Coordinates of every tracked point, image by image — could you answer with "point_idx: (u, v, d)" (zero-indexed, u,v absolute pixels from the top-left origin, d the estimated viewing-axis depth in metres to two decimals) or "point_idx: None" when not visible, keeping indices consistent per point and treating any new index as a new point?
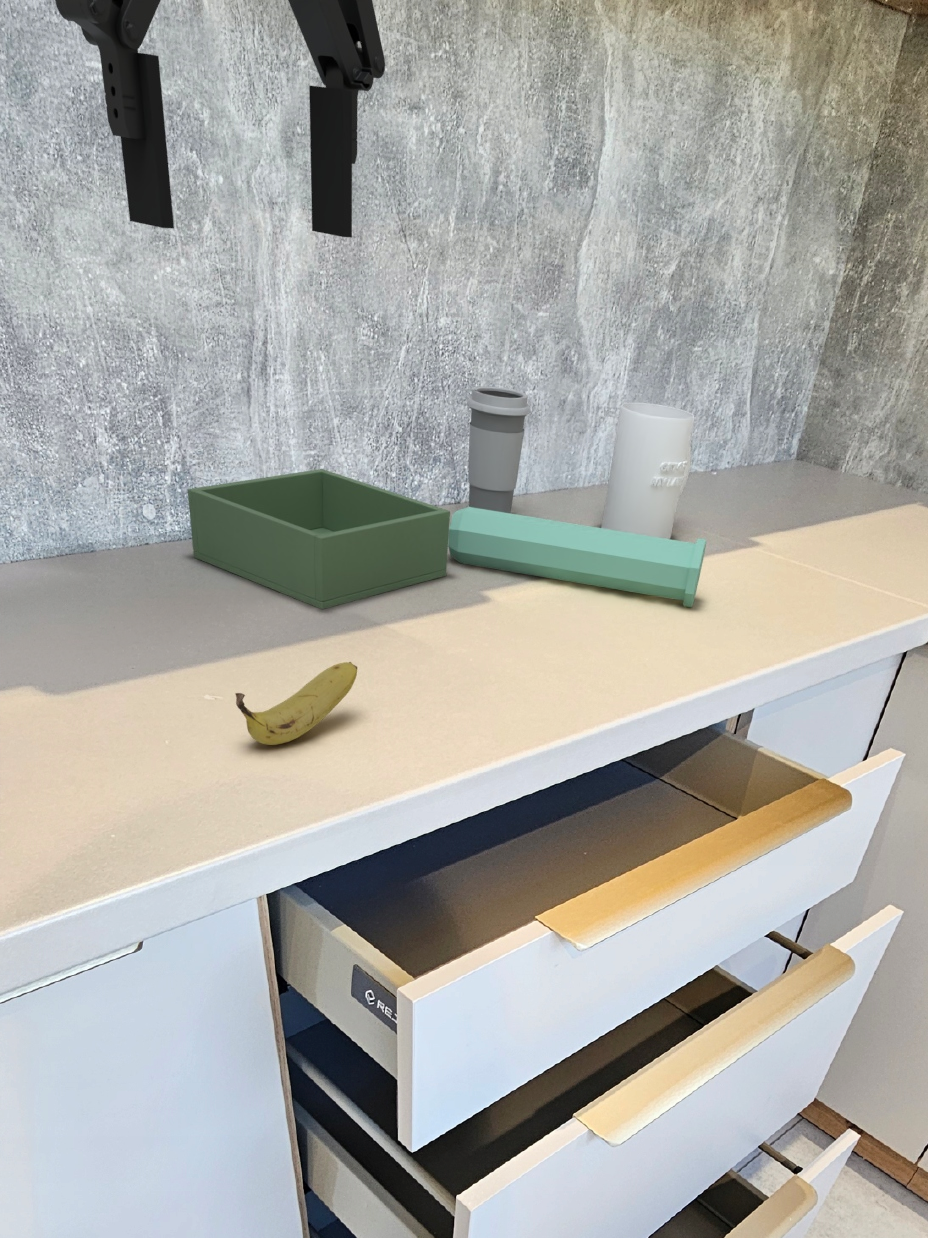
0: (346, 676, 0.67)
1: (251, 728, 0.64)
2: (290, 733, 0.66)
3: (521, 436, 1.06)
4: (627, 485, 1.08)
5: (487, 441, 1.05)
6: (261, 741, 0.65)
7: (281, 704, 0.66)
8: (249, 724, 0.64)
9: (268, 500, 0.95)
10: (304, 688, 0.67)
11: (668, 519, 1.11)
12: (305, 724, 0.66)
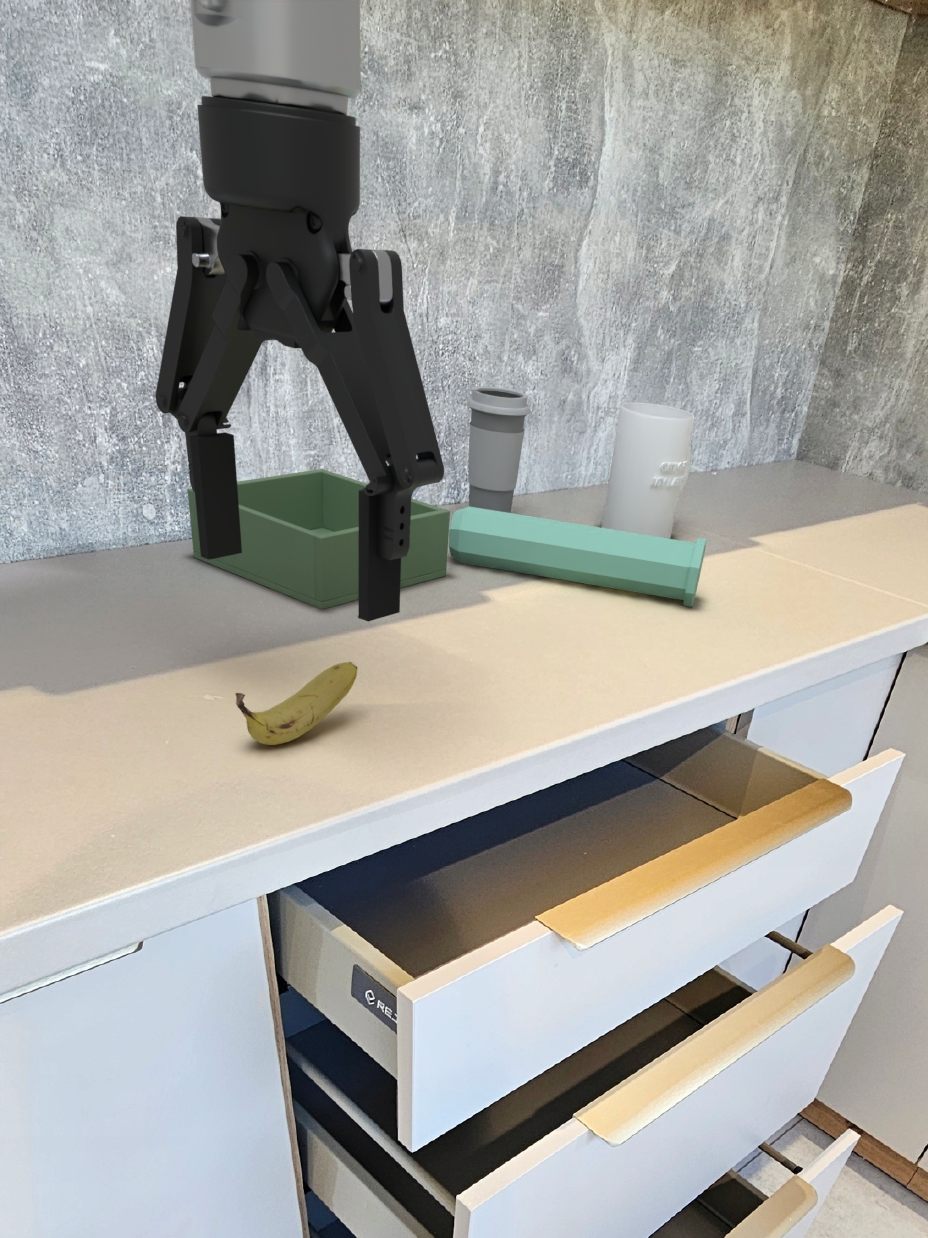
0: (346, 676, 0.67)
1: (251, 728, 0.64)
2: (290, 733, 0.66)
3: (521, 436, 1.06)
4: (627, 485, 1.08)
5: (487, 441, 1.05)
6: (261, 741, 0.65)
7: (281, 704, 0.66)
8: (248, 724, 0.64)
9: (268, 500, 0.95)
10: (304, 688, 0.67)
11: (668, 519, 1.11)
12: (305, 724, 0.66)
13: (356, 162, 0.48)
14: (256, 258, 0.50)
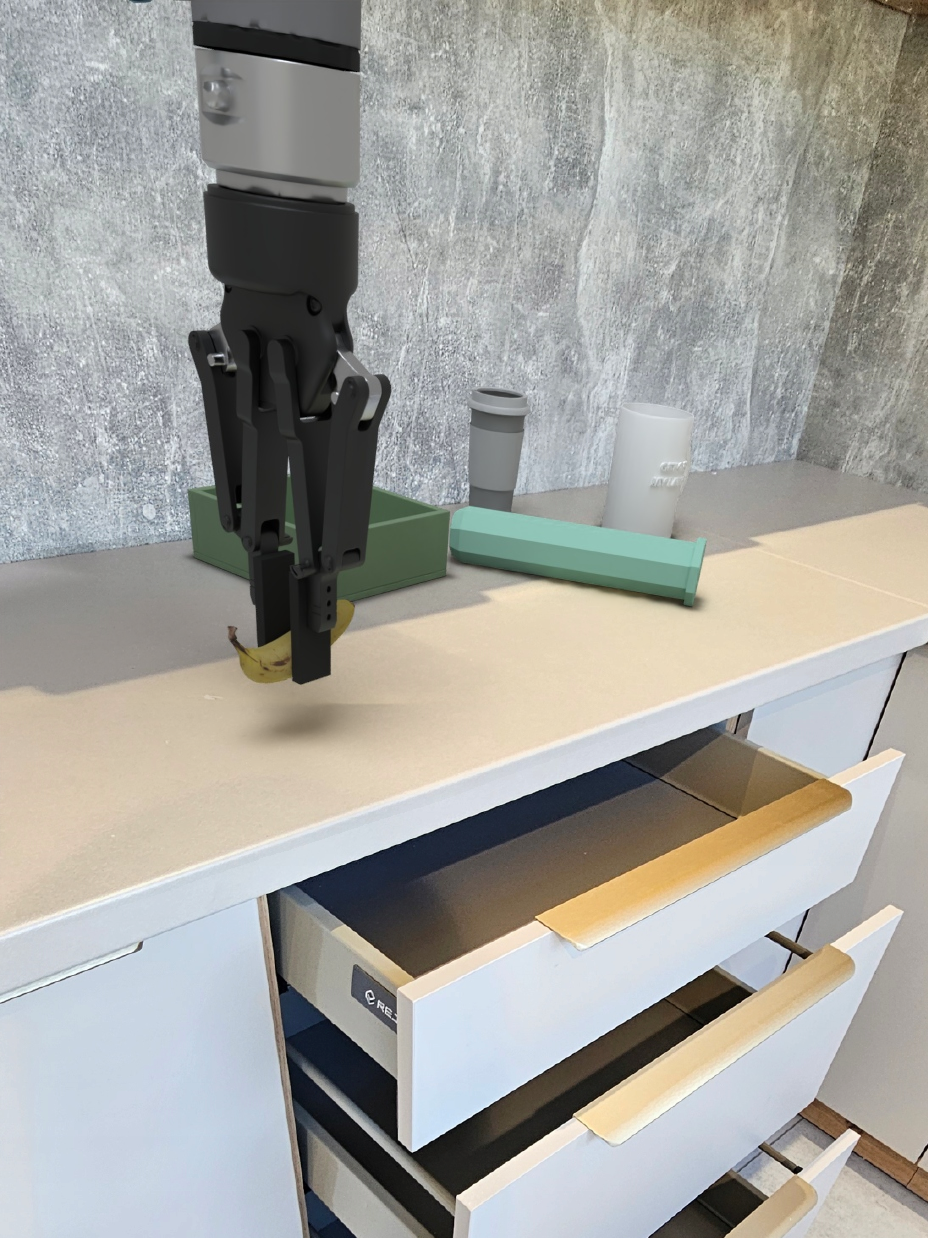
0: (343, 613, 0.65)
1: (244, 664, 0.62)
2: (285, 671, 0.63)
3: (521, 436, 1.06)
4: (627, 485, 1.08)
5: (487, 441, 1.05)
6: (254, 679, 0.62)
7: (275, 641, 0.63)
8: (241, 660, 0.61)
9: None
10: None
11: (668, 519, 1.11)
12: None
13: (355, 248, 0.50)
14: (253, 302, 0.52)
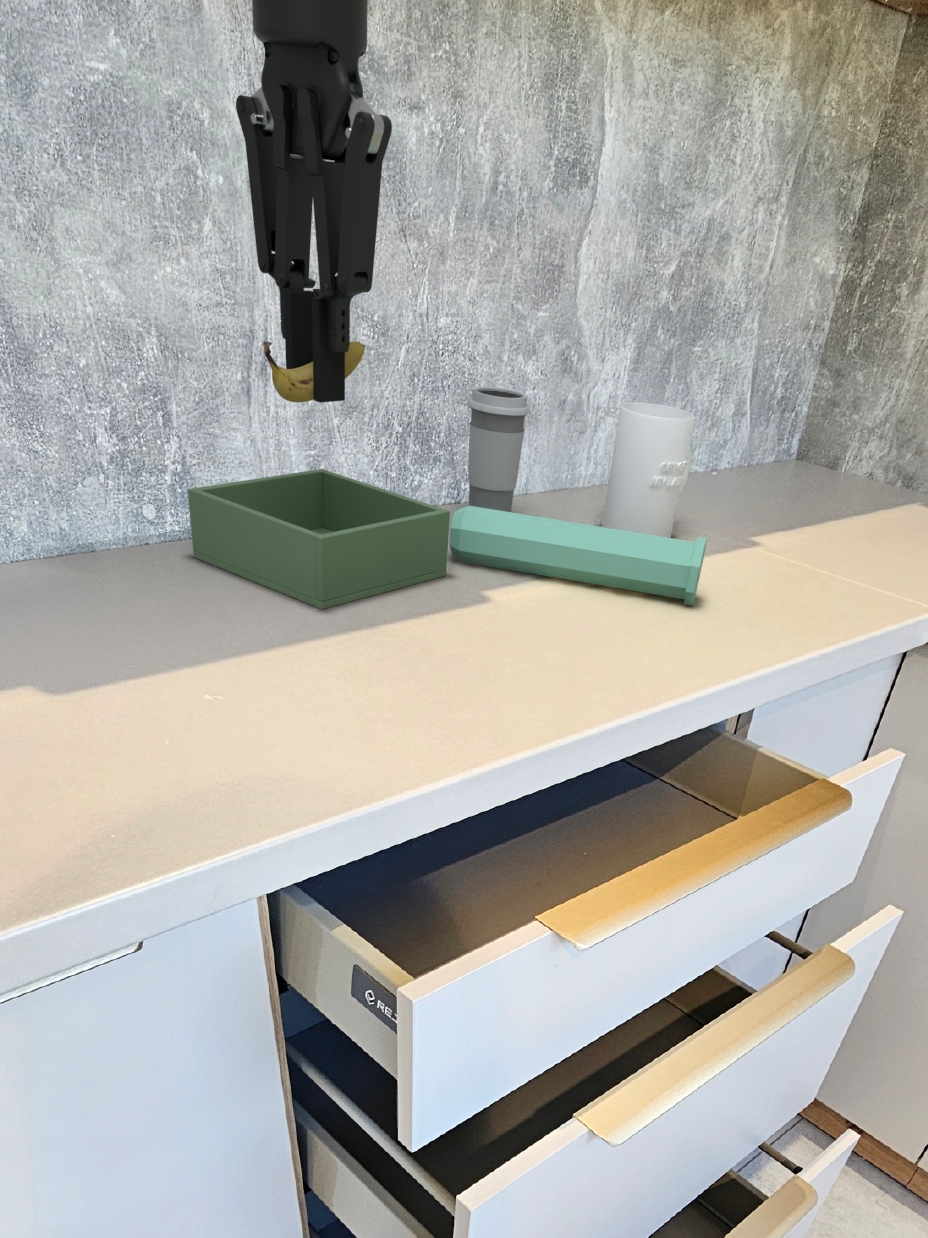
0: (355, 350, 0.81)
1: (276, 379, 0.77)
2: (308, 390, 0.79)
3: (521, 436, 1.06)
4: (627, 485, 1.08)
5: (487, 441, 1.05)
6: (284, 394, 0.78)
7: (301, 367, 0.79)
8: (274, 375, 0.77)
9: (268, 500, 0.95)
10: None
11: (668, 519, 1.11)
12: None
13: (364, 12, 0.66)
14: (286, 61, 0.68)
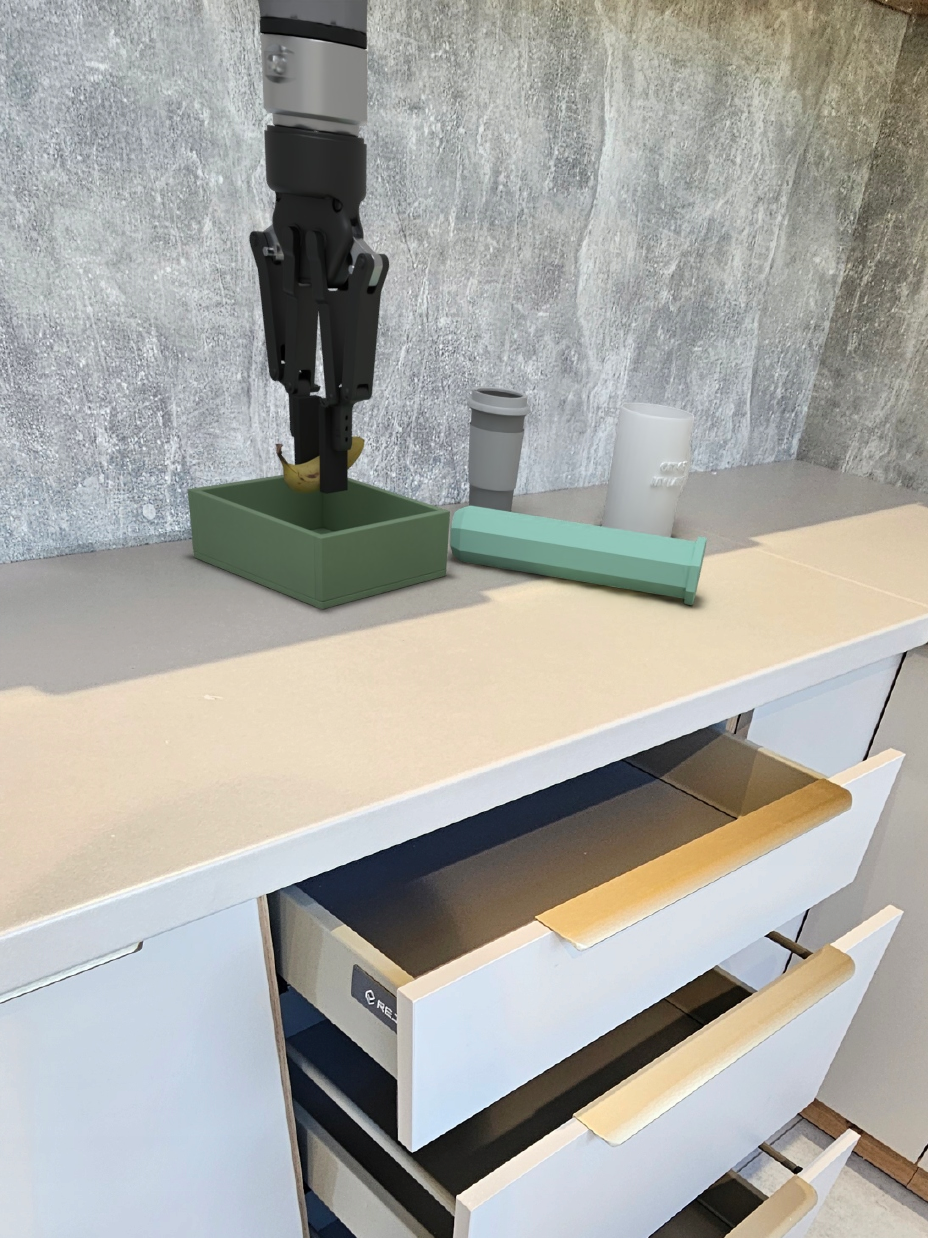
0: (356, 445, 0.90)
1: (286, 475, 0.87)
2: (315, 483, 0.88)
3: (521, 436, 1.06)
4: (627, 485, 1.08)
5: (487, 441, 1.05)
6: (294, 487, 0.87)
7: (308, 462, 0.88)
8: (285, 472, 0.86)
9: (268, 500, 0.95)
10: None
11: (668, 519, 1.11)
12: None
13: (364, 167, 0.75)
14: (295, 206, 0.77)
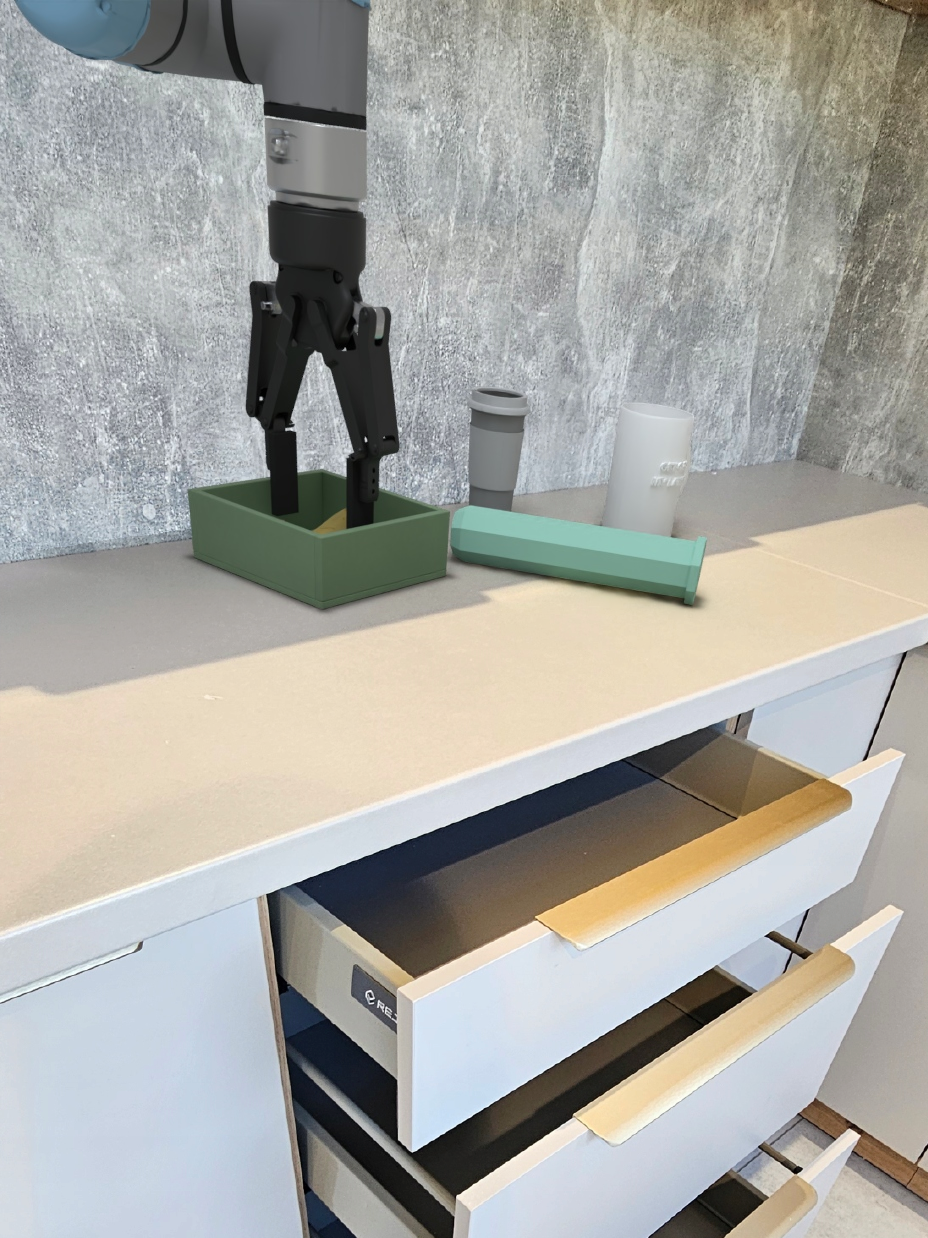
0: None
1: None
2: None
3: (521, 436, 1.06)
4: (627, 485, 1.08)
5: (487, 441, 1.05)
6: None
7: None
8: None
9: (268, 500, 0.95)
10: (324, 523, 0.93)
11: (668, 519, 1.11)
12: None
13: (364, 240, 0.78)
14: (300, 288, 0.80)
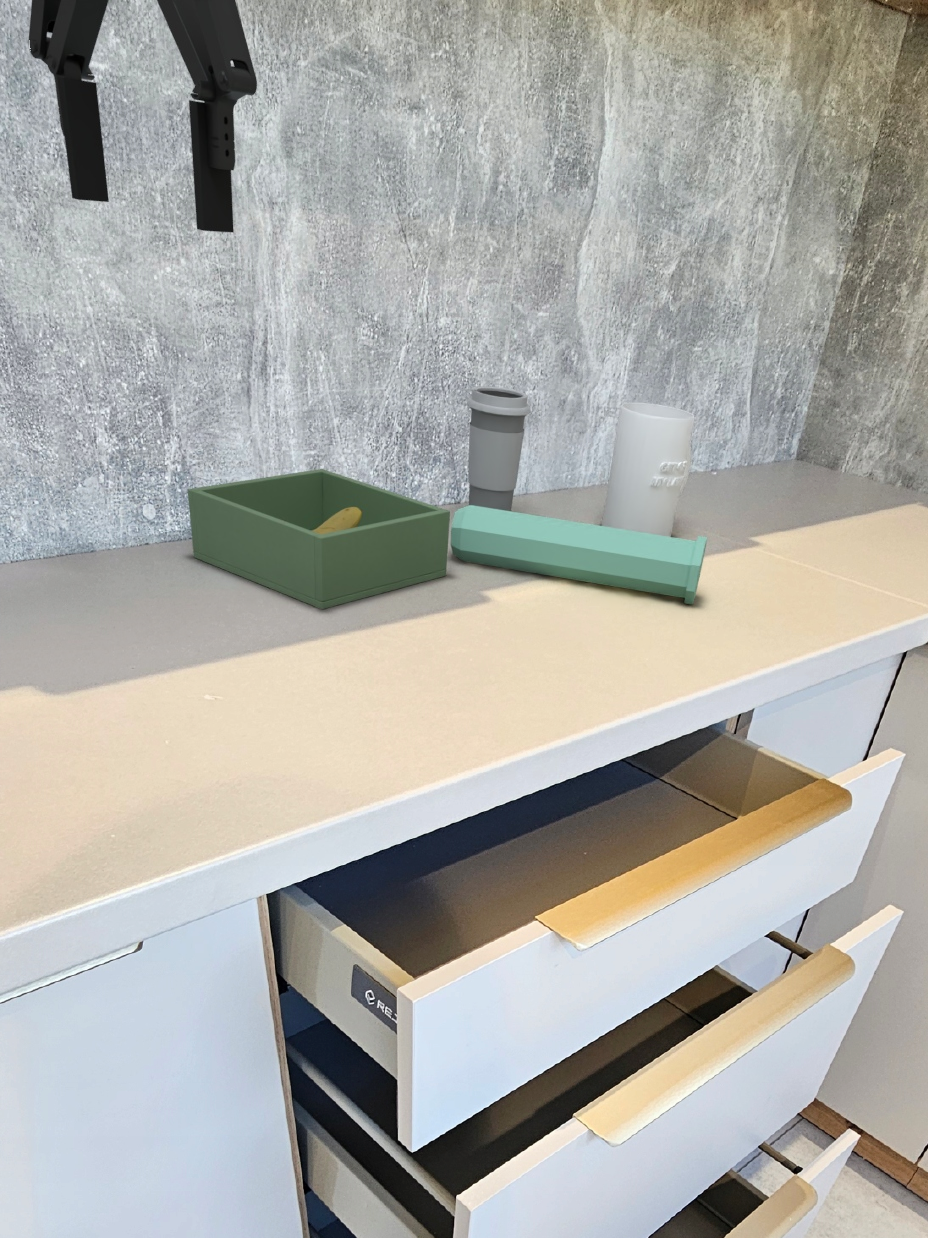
0: (354, 516, 0.94)
1: None
2: None
3: (521, 436, 1.06)
4: (627, 485, 1.08)
5: (487, 441, 1.05)
6: None
7: None
8: None
9: (268, 500, 0.95)
10: (324, 523, 0.93)
11: (668, 519, 1.11)
12: None
13: None
14: None
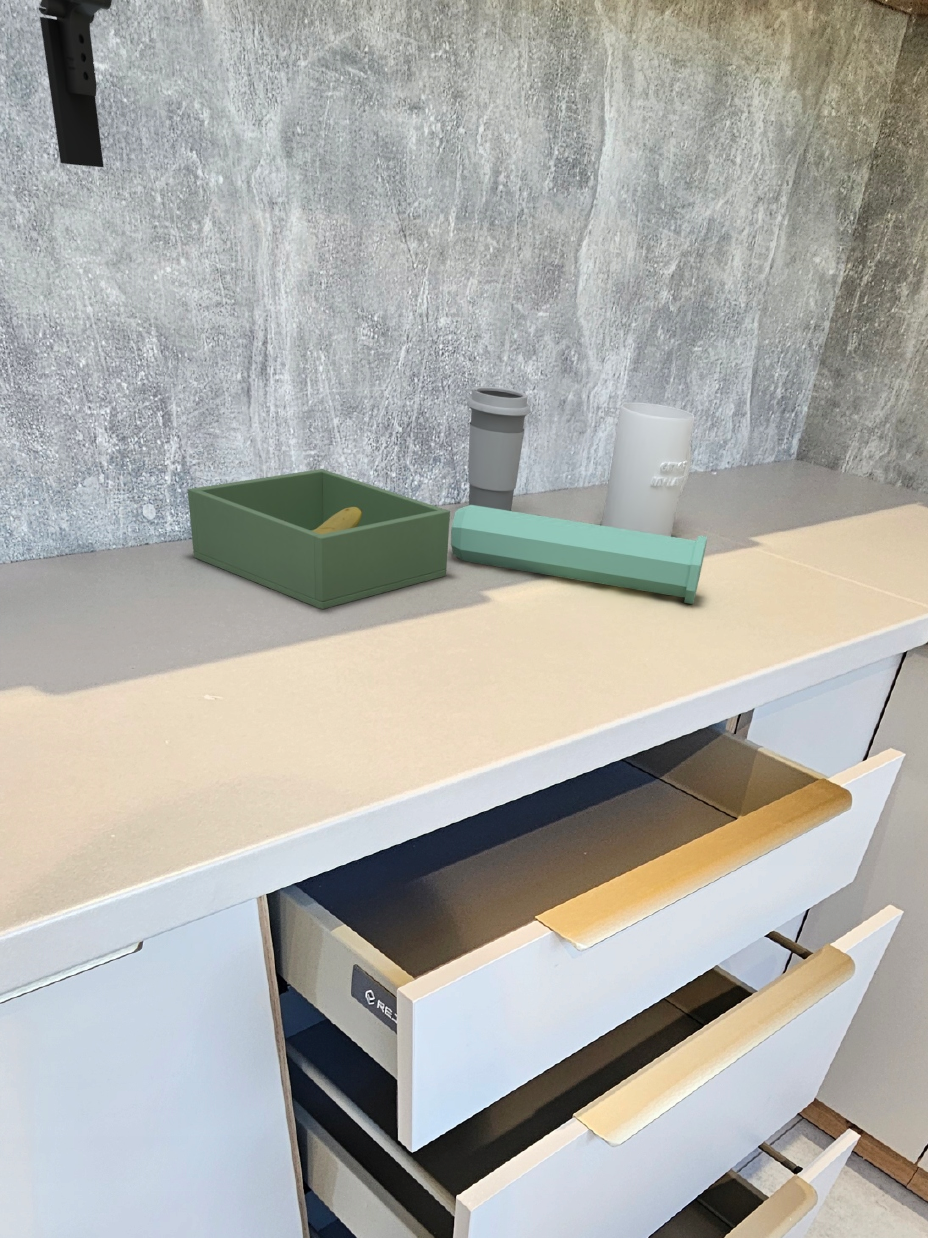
0: (354, 516, 0.94)
1: None
2: None
3: (521, 436, 1.06)
4: (627, 485, 1.08)
5: (487, 441, 1.05)
6: None
7: None
8: None
9: (268, 500, 0.95)
10: (324, 523, 0.93)
11: (668, 519, 1.11)
12: None
13: None
14: None
